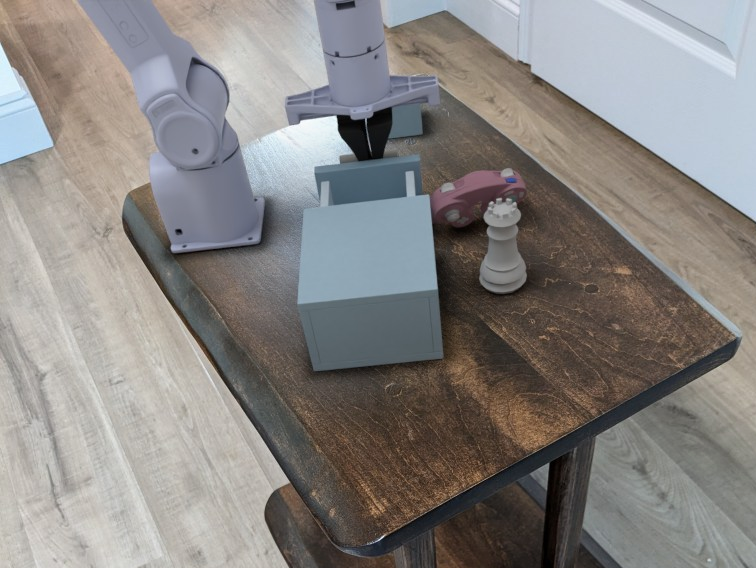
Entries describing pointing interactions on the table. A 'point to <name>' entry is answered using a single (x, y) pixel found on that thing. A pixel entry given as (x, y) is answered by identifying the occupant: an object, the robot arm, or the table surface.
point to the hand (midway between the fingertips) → (374, 179)
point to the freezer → (369, 284)
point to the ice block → (406, 121)
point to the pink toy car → (474, 195)
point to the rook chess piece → (502, 249)
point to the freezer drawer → (369, 179)
